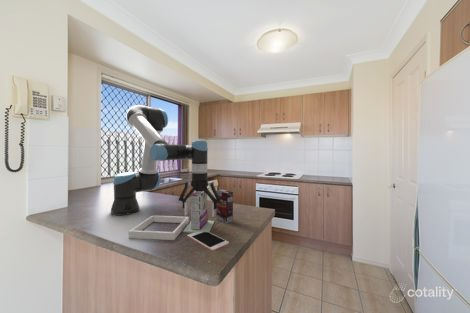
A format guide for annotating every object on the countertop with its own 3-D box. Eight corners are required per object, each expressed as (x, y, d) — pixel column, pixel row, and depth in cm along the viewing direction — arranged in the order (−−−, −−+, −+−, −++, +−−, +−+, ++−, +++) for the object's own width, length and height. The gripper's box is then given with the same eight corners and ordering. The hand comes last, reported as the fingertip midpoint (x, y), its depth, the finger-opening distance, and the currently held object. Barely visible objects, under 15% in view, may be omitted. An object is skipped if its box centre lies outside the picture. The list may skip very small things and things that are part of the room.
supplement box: (215, 219, 108) (215, 190, 107) (222, 217, 111) (222, 189, 111) (226, 223, 102) (227, 193, 101) (233, 221, 105) (233, 191, 105)
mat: (182, 232, 91) (182, 230, 91) (191, 221, 105) (191, 220, 105) (208, 233, 90) (208, 232, 90) (214, 221, 104) (214, 220, 104)
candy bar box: (198, 221, 103) (198, 190, 103) (207, 221, 102) (207, 190, 102) (190, 229, 92) (190, 194, 92) (200, 230, 91) (200, 195, 91)
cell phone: (203, 231, 93) (203, 229, 93) (229, 244, 81) (229, 242, 81) (187, 236, 87) (187, 234, 87) (212, 252, 74) (212, 249, 74)
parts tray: (128, 238, 85) (128, 231, 85) (151, 221, 105) (151, 215, 104) (174, 240, 83) (174, 233, 83) (188, 222, 103) (188, 216, 103)
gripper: (171, 172, 94) (172, 216, 94) (223, 173, 92) (223, 218, 93) (177, 171, 101) (177, 211, 102) (225, 171, 99) (225, 213, 100)
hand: (199, 215), depth 97 cm, fingers open, 13 cm apart
